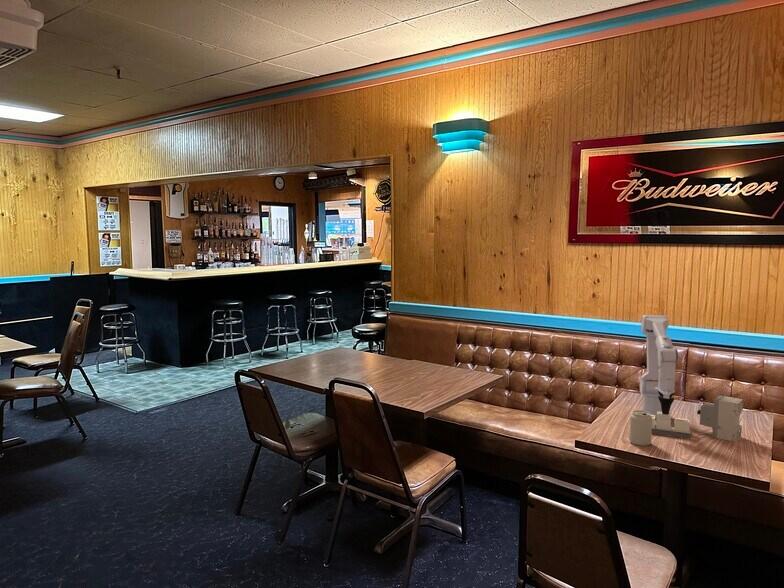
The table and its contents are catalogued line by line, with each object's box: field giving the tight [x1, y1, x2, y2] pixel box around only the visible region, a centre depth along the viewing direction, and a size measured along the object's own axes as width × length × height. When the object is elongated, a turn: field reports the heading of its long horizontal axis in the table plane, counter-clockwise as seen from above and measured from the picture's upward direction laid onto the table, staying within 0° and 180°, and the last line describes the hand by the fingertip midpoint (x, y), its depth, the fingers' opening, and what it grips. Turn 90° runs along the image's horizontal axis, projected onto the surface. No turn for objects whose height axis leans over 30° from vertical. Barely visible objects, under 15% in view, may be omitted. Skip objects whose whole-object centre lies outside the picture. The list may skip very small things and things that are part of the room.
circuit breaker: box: [696, 395, 744, 443], centre depth 206 cm, size 8×14×15 cm, turn 44°
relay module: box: [655, 411, 672, 430], centre depth 210 cm, size 5×4×6 cm
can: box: [629, 409, 653, 447], centre depth 198 cm, size 8×8×12 cm
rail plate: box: [650, 415, 692, 440], centre depth 210 cm, size 18×9×6 cm, turn 63°
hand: (665, 411), depth 209 cm, fingers open, 7 cm apart
